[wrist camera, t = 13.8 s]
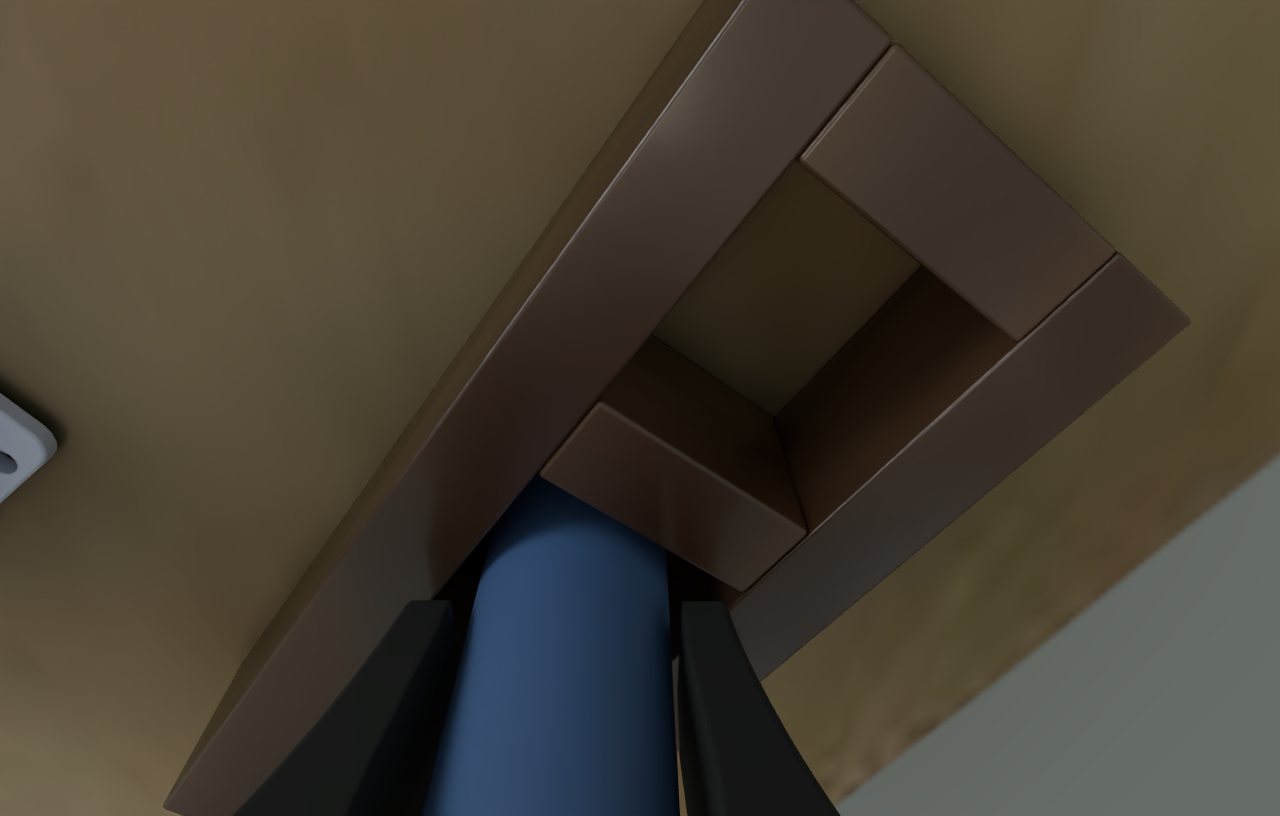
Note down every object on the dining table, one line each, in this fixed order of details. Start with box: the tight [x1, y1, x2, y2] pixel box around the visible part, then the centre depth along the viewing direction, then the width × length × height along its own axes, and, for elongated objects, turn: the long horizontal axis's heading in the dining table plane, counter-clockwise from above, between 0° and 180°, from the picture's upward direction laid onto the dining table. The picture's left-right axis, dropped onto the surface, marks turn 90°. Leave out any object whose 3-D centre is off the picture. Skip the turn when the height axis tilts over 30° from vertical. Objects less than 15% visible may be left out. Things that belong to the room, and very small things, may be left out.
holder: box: [163, 0, 1191, 816], centre depth 14 cm, size 7×18×4 cm, turn 143°
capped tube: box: [421, 471, 680, 816], centre depth 11 cm, size 4×4×9 cm
